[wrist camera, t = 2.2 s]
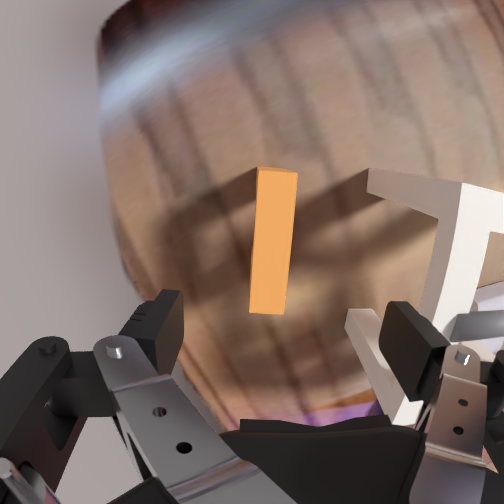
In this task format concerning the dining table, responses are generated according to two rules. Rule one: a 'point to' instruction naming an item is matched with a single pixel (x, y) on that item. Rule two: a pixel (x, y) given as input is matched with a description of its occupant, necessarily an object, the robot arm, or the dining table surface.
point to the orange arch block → (272, 239)
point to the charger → (490, 308)
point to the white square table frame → (435, 277)
